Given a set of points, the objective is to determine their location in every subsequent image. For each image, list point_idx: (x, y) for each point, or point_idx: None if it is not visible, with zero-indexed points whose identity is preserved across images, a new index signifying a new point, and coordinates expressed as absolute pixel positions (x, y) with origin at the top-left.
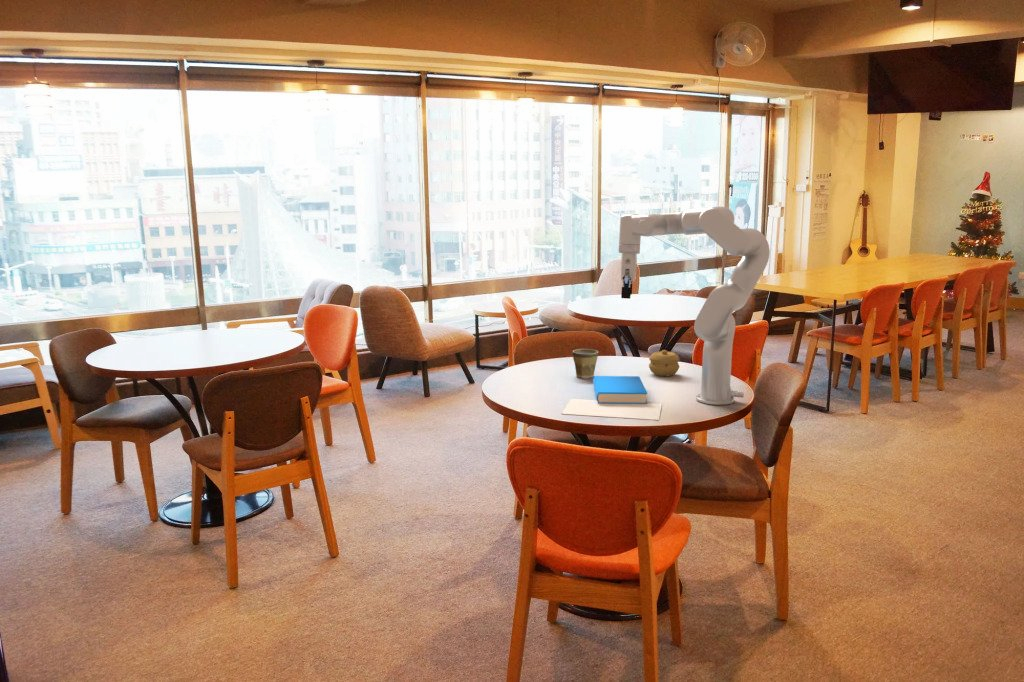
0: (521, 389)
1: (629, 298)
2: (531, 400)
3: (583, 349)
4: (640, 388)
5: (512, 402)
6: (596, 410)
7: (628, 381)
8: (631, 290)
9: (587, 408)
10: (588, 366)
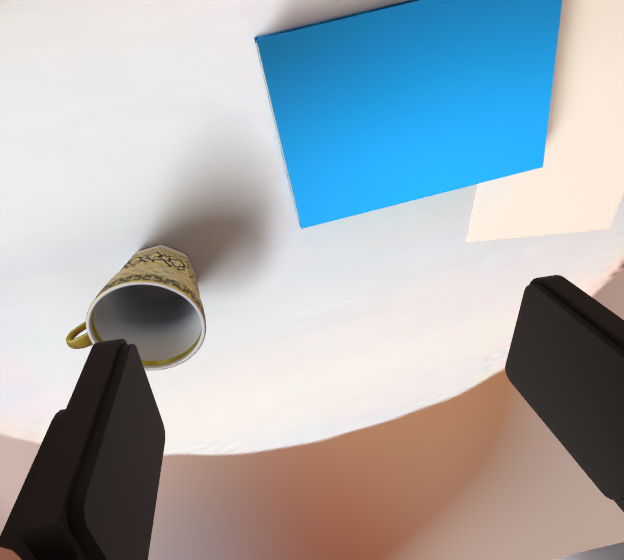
0: (375, 371)
1: (549, 280)
2: (478, 323)
3: None
4: (490, 7)
5: (495, 351)
6: (594, 146)
7: (369, 80)
8: (121, 391)
9: (570, 176)
10: (190, 277)
